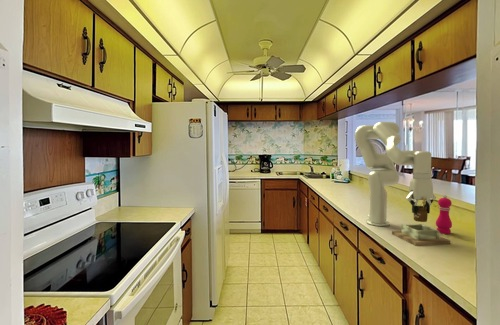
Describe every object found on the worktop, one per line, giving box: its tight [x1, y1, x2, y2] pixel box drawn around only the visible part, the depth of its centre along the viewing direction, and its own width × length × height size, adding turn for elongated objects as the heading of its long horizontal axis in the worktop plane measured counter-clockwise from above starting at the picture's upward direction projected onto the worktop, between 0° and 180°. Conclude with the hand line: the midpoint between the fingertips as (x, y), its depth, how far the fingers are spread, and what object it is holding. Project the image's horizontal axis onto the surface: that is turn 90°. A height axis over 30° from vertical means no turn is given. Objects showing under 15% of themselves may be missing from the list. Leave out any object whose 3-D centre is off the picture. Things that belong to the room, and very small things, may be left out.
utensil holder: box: [413, 198, 429, 223], centre depth 147 cm, size 6×6×12 cm
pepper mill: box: [435, 194, 453, 235], centre depth 158 cm, size 7×7×20 cm
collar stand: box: [391, 223, 451, 246], centre depth 148 cm, size 18×18×6 cm
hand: (420, 212), depth 147 cm, fingers closed on utensil holder, 5 cm apart
